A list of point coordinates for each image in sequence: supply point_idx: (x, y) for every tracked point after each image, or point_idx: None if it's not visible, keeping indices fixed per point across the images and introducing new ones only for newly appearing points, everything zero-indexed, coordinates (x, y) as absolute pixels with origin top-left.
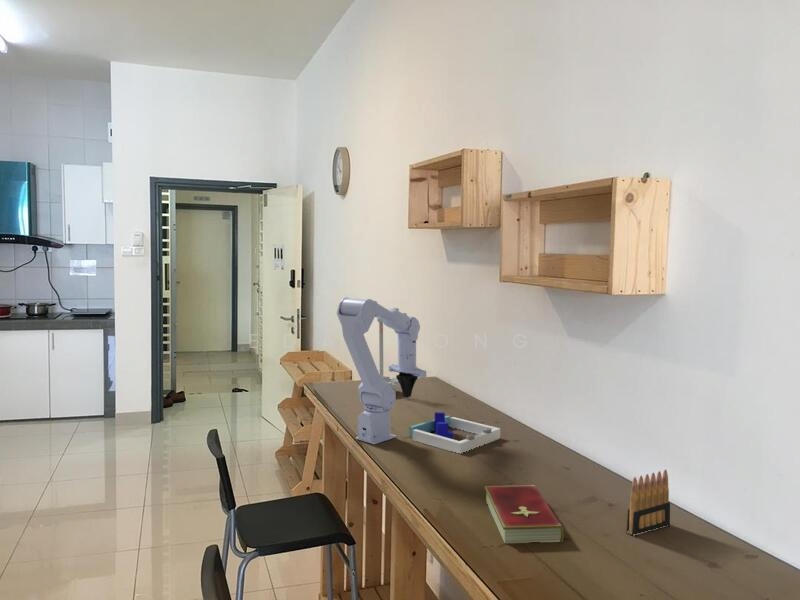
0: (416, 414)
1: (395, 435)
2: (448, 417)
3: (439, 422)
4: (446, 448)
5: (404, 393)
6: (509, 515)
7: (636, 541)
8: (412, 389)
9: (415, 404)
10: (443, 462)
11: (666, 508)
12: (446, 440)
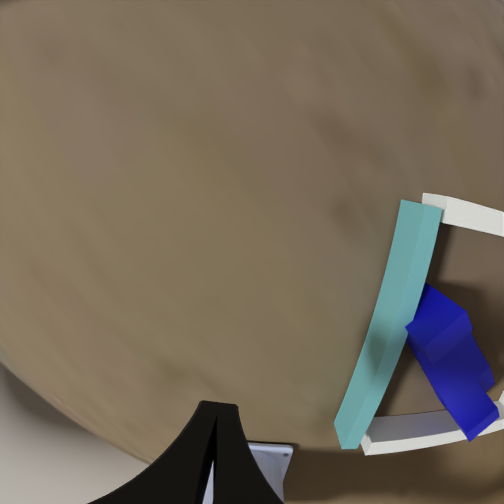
0: (143, 119)
1: (288, 448)
2: (437, 226)
3: (473, 429)
4: None
5: (213, 465)
6: None
7: None
8: (247, 443)
9: (58, 9)
10: (472, 459)
11: None
12: (483, 433)
